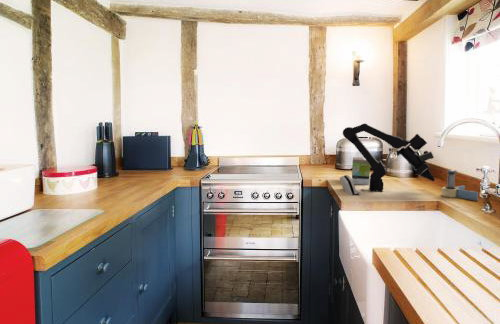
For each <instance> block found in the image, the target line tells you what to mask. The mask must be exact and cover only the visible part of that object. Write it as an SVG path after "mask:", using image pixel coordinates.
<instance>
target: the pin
mask: <svg viewBox="0 0 500 324" xmlns="http://www.w3.org/2000/svg"><path fill="white" fill-rule="evenodd" d="M446 173H447V178H446V179H447V181H446V182H447V183H446V187H447V188H448V189H454V187H455V183H456V181H455V179H456V173H457V170H456V169H446Z"/></svg>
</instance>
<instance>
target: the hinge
mask: <svg viewBox="0 0 500 324" xmlns="http://www.w3.org/2000/svg"><path fill="white" fill-rule="evenodd" d="M339 180H340V183H341V186H342V189H343V190H344V191H345V192H346V193H347V195H349V196H353V194H354V195H356V194H357V195H358V196H361V194H360V191H359V190H357V189H356V186H355V184H354V183H353V180H352V176H350V175H349V174H344V175H342V176H340V177H339Z"/></svg>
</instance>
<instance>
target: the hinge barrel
mask: <svg viewBox="0 0 500 324" xmlns="http://www.w3.org/2000/svg"><path fill="white" fill-rule="evenodd" d="M442 195H443V196H442ZM441 196H442V197H445V196H446V197H445V198H454V199H455V198H459V199H464V200H471V201H475V202H477V201H479V192H478V191H474V190H473V191H471V190H466V185H464V184H463V185H458V186H454V189H448V188H447V186H443V187H441Z"/></svg>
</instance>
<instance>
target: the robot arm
mask: <svg viewBox="0 0 500 324" xmlns="http://www.w3.org/2000/svg"><path fill="white" fill-rule="evenodd" d="M362 132H365V133H367V134H369V135H371V136H373V137H376V138H378V139H379V140H382V141H384V142H386V143H387V144H388V145H389V146H390V147H392V148H394V149H396V156H397V157H399V155H401V156H402V157H403V158H404V160H406V162H408V164H409V165H411V166H412V168H413V169H414V170H415V173H416V174H417V175H418V176H419V177H420V176H421V177H422V178H425V179H428V180H429V181H432V182H434V181H436V179H435V178H434V175H433V174H432V173H431V171H430V166H429V163H428V162H427V161H428V160H431V159H434V154H433V153H432V151H428V150H424V151H423V154H420V155H419V154H418V153H417V152H416V151H420V150H421V149H422V148H423V147H425V146H426V145H427V144H428V142H427V141H426V140H425V139H424V138H423V137H421V135H419V134H418V133H416V134H415V135H414V136H413V137H412V138H410V140H408V139H406V140H405V139H403V138H401V136H396V135H393V134H388V133H386V132H384V131H381V130H380V129H377V128H376V127H373V126H370V125H368V124H367V123H362V124H359V125H357V126H354V127H351V126H349V127H345V128H344V129H343V130H342V136H343V137H344V138H345V139H346V140H347V141H349V142H350V143H352V144H353V146H354V147H355V148H356V149H357V150H358V152H359V153H360V154H361V155H362V157H364V158H365V159H366V160H367V162H368V163H369V164H370V169H371V170H372V172H371V174H370V177H369V185H368V186H369V187H368V190H369V192H383V191H384V182H383V177H385V175H386V174H387V168H386V167H387V166H386V165H385V164H384V162H382V160H379V161H378V160H377V159H376V158H375V157H374V156H373V154H372V153H371V151H369V150H368V148H367V147H366V146H365V145H364V143H363V142H362V141H361V140H360V138H359V136H358V134H359V133H362ZM405 146H406V147H405Z"/></svg>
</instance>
